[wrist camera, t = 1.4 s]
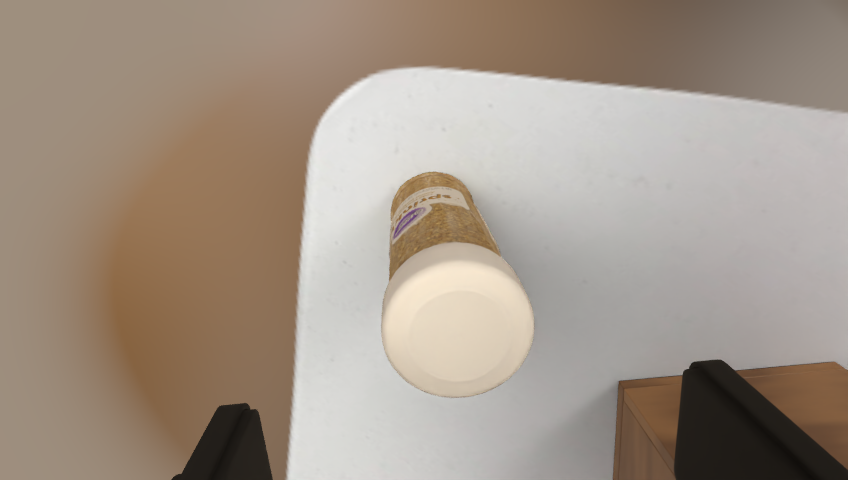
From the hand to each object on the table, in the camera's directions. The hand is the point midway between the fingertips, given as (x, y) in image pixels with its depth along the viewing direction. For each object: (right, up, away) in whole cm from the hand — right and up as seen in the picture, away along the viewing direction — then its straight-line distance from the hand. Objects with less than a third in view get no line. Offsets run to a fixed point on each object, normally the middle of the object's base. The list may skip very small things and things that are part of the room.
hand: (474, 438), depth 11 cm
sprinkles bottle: (-1, +6, +16) cm, 18 cm away
